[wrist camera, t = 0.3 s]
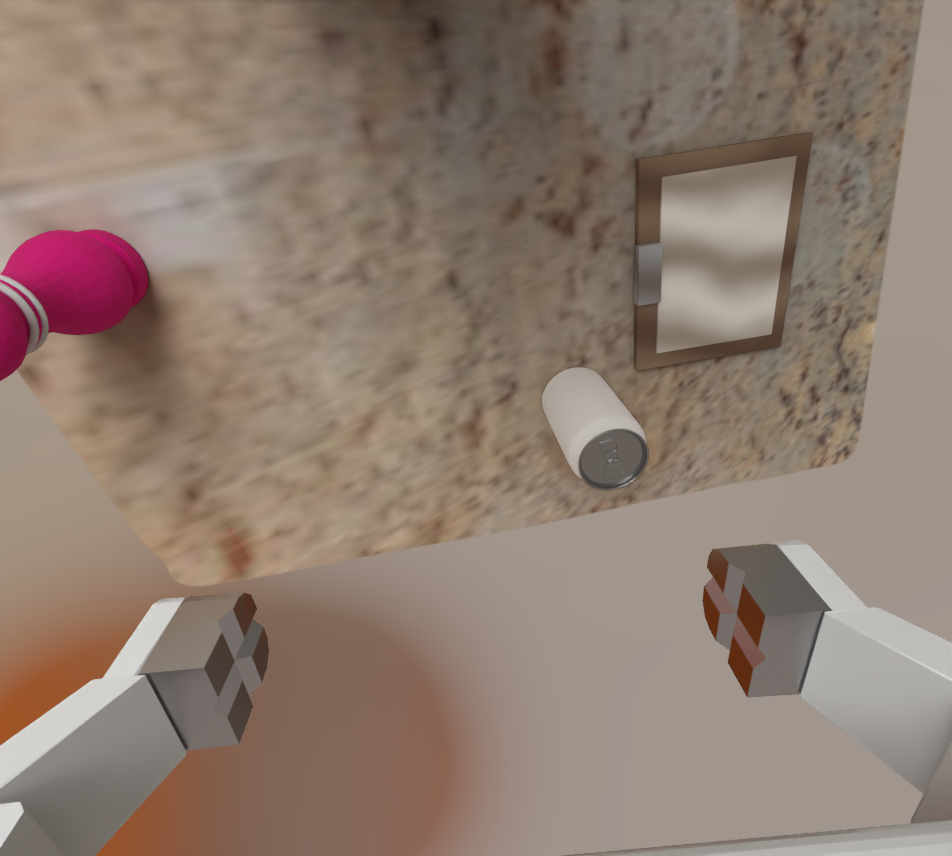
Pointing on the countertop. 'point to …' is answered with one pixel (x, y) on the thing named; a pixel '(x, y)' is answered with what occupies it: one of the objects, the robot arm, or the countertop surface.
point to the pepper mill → (65, 289)
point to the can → (594, 429)
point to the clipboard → (715, 248)
